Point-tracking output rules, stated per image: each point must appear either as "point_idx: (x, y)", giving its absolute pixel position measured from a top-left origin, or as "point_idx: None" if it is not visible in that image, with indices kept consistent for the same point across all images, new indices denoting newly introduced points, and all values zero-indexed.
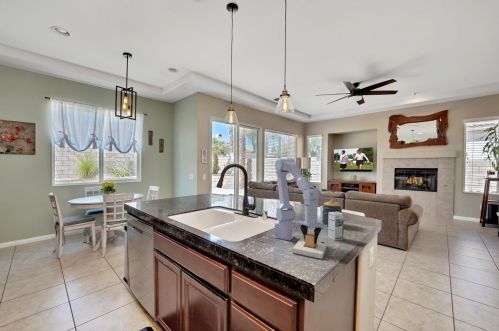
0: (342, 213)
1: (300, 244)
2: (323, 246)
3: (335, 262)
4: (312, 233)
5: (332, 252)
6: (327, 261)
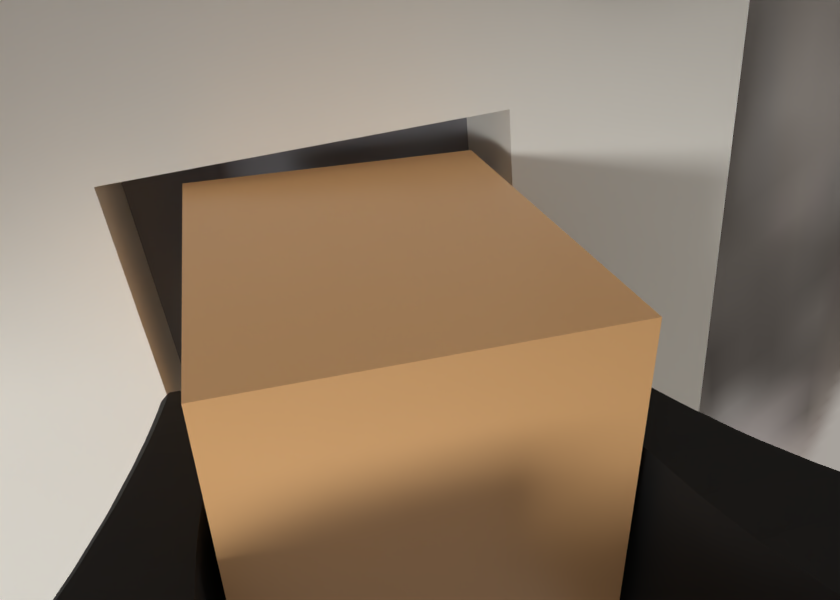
0: None
1: (91, 513)
2: (680, 217)
3: (805, 444)
4: (450, 425)
5: (793, 75)
6: None
